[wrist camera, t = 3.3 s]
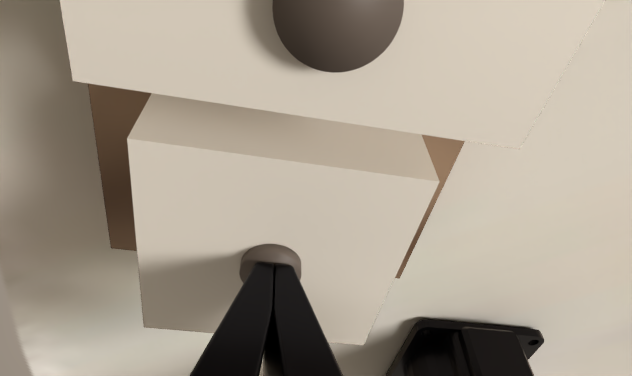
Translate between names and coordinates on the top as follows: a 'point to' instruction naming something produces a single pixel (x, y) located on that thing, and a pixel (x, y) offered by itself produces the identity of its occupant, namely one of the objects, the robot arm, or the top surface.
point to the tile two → (341, 57)
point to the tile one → (270, 210)
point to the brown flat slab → (111, 139)
